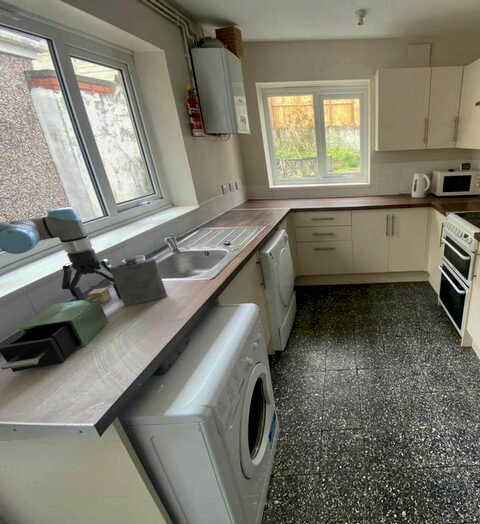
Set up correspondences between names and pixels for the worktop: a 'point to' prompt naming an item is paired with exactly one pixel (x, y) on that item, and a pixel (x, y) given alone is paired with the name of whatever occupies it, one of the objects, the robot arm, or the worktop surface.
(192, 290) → the worktop surface
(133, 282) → the flask
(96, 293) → the block
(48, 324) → the fryer
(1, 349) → the fryer drawer
